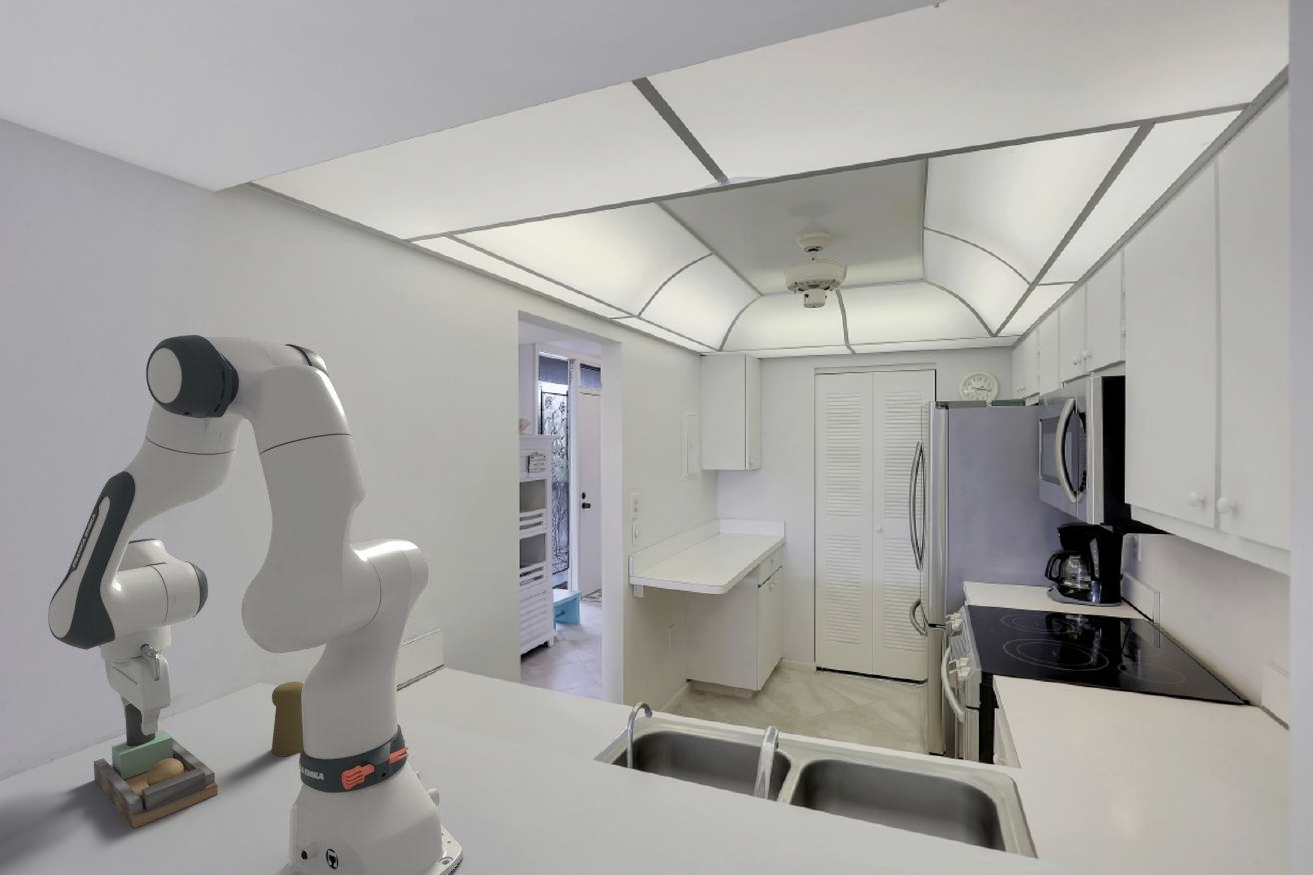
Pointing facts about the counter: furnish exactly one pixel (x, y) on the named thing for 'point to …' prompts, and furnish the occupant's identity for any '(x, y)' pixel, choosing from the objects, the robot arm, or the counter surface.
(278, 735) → the cork
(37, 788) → the counter surface
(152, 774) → the walnut
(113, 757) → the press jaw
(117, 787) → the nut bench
